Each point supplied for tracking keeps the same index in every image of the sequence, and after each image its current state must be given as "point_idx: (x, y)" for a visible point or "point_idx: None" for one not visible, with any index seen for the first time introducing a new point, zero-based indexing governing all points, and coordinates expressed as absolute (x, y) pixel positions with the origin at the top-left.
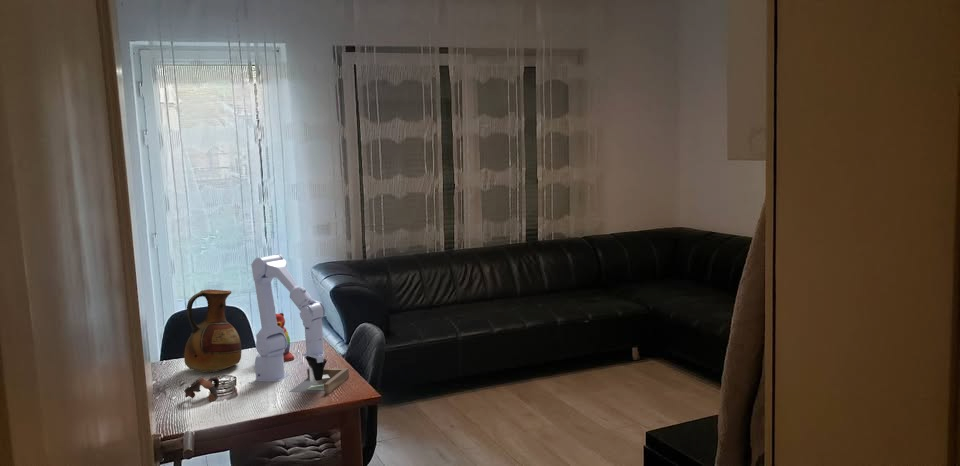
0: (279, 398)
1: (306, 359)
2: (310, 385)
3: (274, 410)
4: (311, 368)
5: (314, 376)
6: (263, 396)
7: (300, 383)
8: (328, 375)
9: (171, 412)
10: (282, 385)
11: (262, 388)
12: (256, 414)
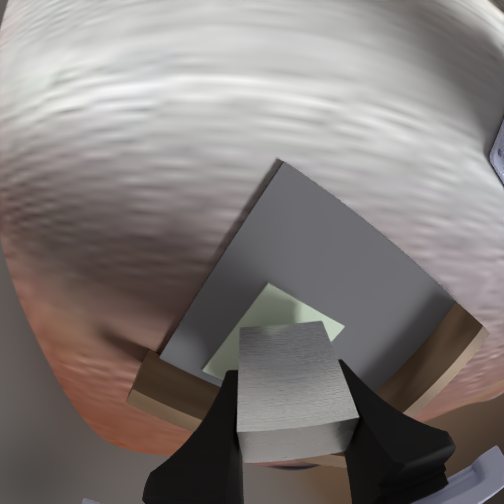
0: (188, 89)
1: (420, 438)
2: (338, 308)
3: (22, 87)
4: (249, 430)
5: (222, 389)
6: (287, 8)
7: (409, 258)
8: (388, 395)
9: None
10: (442, 155)
11: (436, 49)
12: (26, 22)
